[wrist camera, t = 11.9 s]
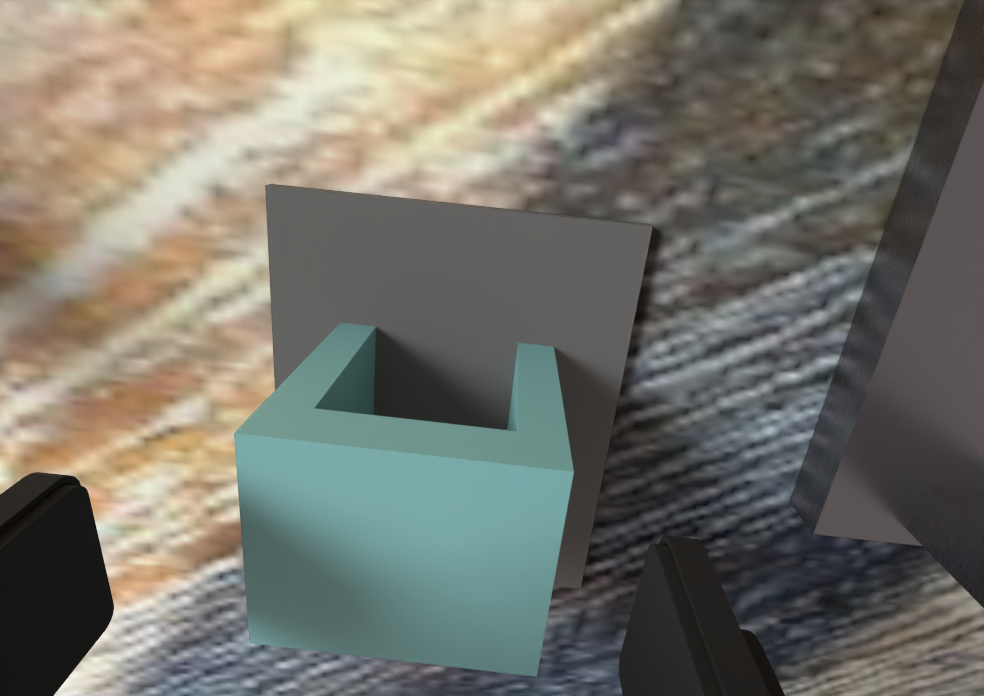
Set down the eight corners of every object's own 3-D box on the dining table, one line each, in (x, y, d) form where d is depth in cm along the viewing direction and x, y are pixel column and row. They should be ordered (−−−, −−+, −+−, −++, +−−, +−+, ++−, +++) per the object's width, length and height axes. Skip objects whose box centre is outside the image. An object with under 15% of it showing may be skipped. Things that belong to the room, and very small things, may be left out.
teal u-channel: (340, 322, 16) (234, 433, 10) (553, 346, 16) (573, 472, 10) (340, 474, 17) (249, 642, 12) (531, 495, 17) (536, 676, 12)
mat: (271, 184, 15) (265, 185, 14) (649, 224, 15) (652, 226, 14) (287, 547, 19) (282, 555, 19) (579, 580, 19) (580, 588, 19)
